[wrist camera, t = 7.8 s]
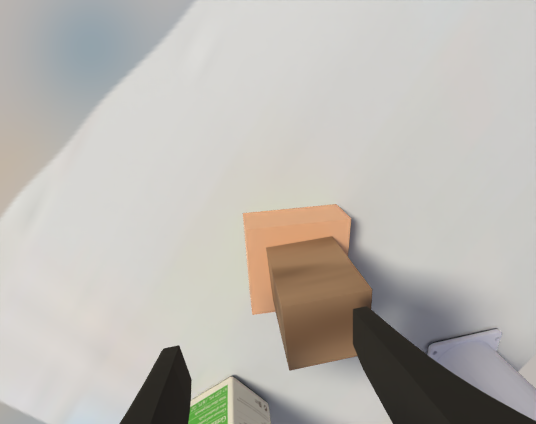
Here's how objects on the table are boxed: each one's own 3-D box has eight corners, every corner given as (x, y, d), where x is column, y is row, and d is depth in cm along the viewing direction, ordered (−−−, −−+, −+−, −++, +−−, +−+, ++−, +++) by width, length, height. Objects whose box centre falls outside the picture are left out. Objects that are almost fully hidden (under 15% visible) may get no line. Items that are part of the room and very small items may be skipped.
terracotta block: (330, 278, 23) (343, 302, 21) (249, 288, 23) (252, 314, 20) (334, 202, 21) (351, 218, 18) (242, 211, 20) (245, 229, 17)
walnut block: (333, 289, 20) (368, 353, 15) (273, 300, 20) (289, 370, 15) (332, 236, 18) (372, 289, 13) (266, 247, 18) (281, 307, 13)
